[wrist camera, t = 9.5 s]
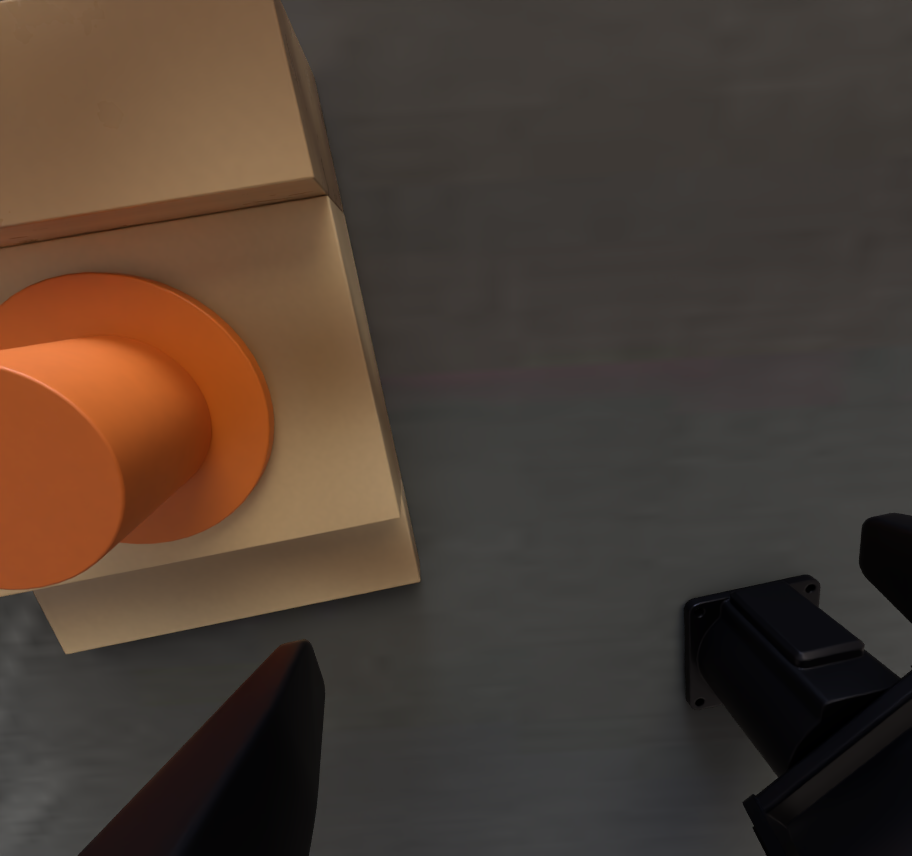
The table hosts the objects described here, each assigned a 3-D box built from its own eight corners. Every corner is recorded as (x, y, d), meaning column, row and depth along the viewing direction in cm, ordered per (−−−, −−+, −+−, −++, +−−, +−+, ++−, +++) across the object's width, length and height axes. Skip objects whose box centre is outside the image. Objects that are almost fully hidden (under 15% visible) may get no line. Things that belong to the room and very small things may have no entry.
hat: (304, 508, 15) (257, 612, 10) (53, 557, 15) (-117, 688, 10) (228, 249, 13) (122, 228, 8) (-74, 299, 12) (-379, 309, 8)
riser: (419, 561, 20) (425, 658, 15) (89, 628, 20) (-25, 753, 14) (314, 76, 15) (265, -37, 10) (-149, 145, 14) (-473, 63, 9)
